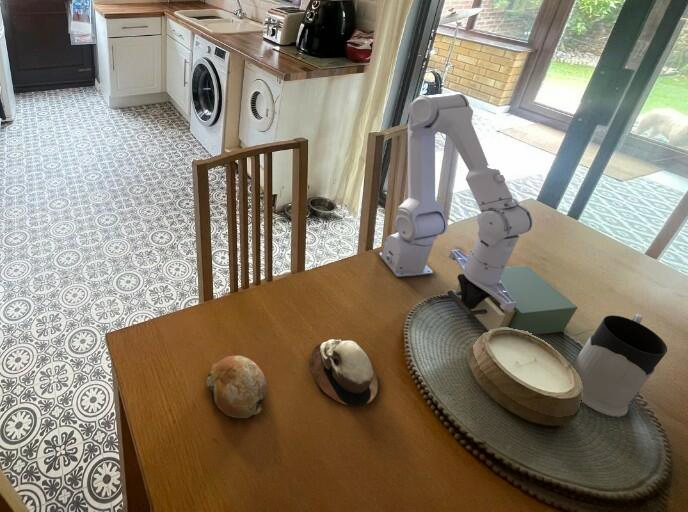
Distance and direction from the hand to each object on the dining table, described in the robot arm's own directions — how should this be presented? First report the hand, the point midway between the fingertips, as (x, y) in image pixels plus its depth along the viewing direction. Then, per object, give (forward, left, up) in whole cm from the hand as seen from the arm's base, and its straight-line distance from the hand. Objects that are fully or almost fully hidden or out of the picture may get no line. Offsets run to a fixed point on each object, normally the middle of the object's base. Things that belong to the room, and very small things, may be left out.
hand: (467, 306), depth 87 cm
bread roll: (-53, -10, -3) cm, 54 cm away
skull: (-32, -9, -3) cm, 34 cm away
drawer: (+5, 0, -2) cm, 6 cm away
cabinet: (+12, 0, -3) cm, 12 cm away
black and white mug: (+14, -16, -3) cm, 22 cm away
